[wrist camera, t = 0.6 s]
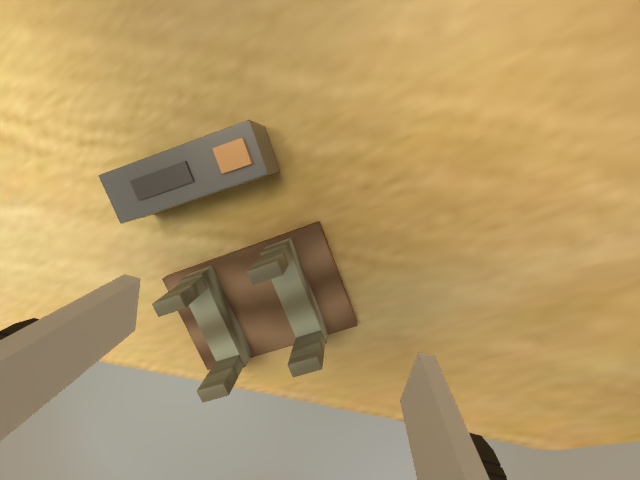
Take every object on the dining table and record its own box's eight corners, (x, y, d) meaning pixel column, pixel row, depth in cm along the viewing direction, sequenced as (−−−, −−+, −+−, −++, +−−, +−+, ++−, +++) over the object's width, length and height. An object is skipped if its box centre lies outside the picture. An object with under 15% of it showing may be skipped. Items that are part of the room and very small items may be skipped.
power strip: (137, 173, 37) (94, 175, 31) (265, 126, 35) (247, 119, 29) (154, 214, 38) (117, 224, 32) (280, 171, 36) (266, 174, 30)
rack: (167, 275, 40) (117, 307, 31) (319, 221, 37) (310, 240, 28) (211, 364, 42) (176, 417, 34) (357, 320, 39) (359, 366, 31)
